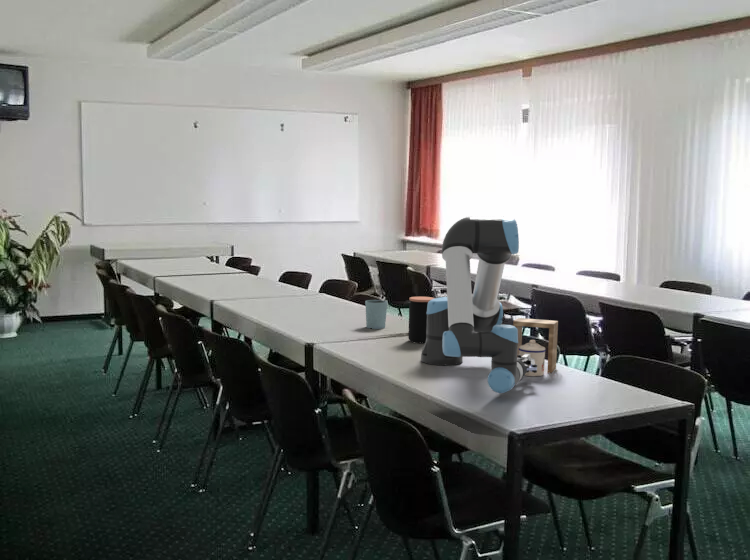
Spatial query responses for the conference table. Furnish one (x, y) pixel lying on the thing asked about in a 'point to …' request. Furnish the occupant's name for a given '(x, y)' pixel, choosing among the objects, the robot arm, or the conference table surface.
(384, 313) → the light blue cup
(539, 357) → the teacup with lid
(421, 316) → the coffee jar
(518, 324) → the wooden arch
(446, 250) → the robot arm
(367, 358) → the conference table surface
